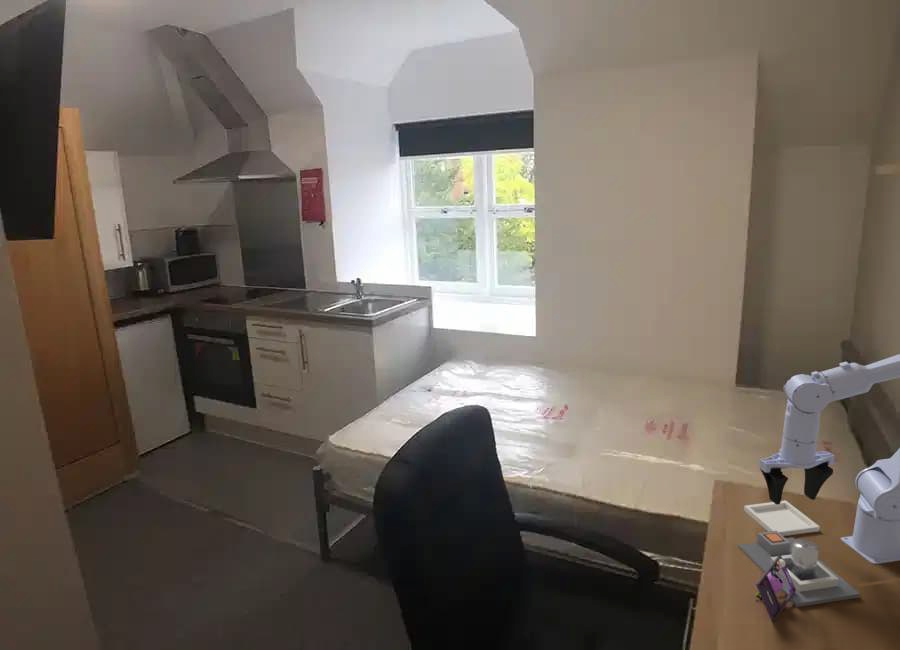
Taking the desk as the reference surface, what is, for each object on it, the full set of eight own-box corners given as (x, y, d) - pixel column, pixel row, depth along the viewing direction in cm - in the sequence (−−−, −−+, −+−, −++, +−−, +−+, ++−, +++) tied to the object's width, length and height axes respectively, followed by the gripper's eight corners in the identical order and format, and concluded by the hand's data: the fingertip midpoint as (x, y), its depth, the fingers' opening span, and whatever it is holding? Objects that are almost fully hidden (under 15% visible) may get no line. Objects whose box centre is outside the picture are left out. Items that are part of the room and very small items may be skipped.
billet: (805, 565, 108) (809, 538, 107) (820, 580, 105) (824, 551, 103) (784, 567, 108) (788, 539, 107) (798, 582, 104) (802, 553, 103)
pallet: (792, 540, 117) (794, 527, 116) (859, 597, 101) (861, 583, 100) (737, 548, 115) (739, 535, 115) (797, 607, 100) (798, 592, 99)
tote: (784, 505, 129) (785, 500, 128) (818, 532, 119) (819, 526, 119) (743, 511, 127) (744, 505, 127) (774, 538, 118) (775, 532, 117)
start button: (774, 541, 115) (775, 533, 115) (782, 548, 113) (783, 540, 112) (764, 542, 115) (765, 534, 114) (771, 549, 113) (772, 541, 112)
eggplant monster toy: (762, 584, 96) (785, 555, 101) (733, 580, 100) (756, 553, 106) (778, 622, 96) (800, 591, 101) (748, 616, 100) (771, 587, 106)
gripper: (818, 424, 116) (810, 484, 119) (751, 431, 114) (745, 492, 118) (846, 439, 109) (837, 503, 113) (776, 447, 107) (769, 512, 111)
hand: (792, 499), depth 115 cm, fingers open, 7 cm apart
